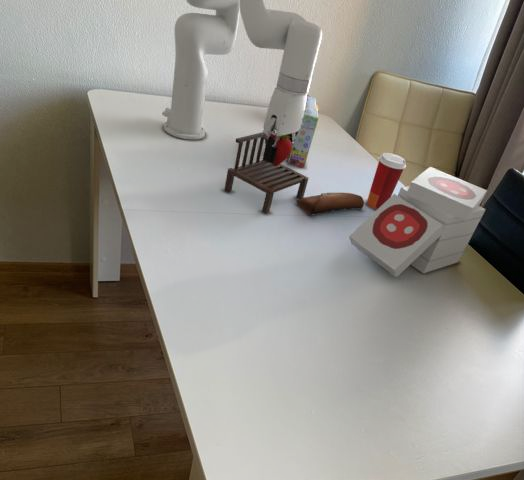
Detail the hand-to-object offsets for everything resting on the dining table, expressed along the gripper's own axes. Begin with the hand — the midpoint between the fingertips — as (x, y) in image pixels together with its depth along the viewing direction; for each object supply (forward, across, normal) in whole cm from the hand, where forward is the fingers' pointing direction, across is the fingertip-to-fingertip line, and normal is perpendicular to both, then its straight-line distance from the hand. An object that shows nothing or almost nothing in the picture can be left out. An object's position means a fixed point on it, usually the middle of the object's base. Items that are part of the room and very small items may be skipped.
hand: (276, 158), depth 135 cm
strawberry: (+2, 0, 0) cm, 2 cm away
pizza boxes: (+11, -7, +39) cm, 41 cm away
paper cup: (+11, -26, +20) cm, 34 cm away
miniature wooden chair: (+10, 0, -1) cm, 11 cm away
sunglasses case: (+11, -11, +13) cm, 20 cm away
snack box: (+11, -34, -14) cm, 38 cm away
